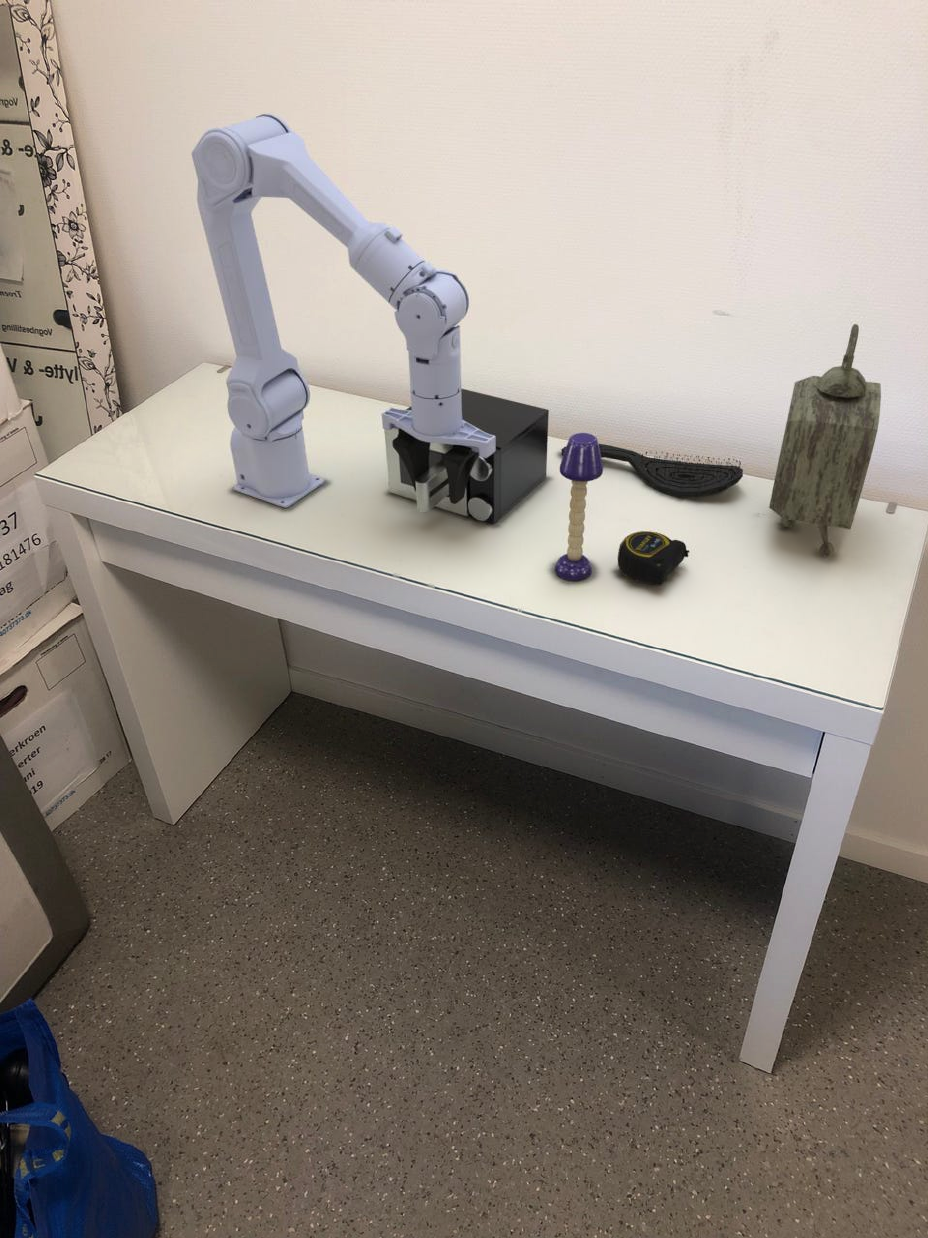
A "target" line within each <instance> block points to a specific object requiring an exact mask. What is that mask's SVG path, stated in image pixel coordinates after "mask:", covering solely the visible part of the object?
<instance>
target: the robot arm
mask: <svg viewBox="0 0 928 1238" xmlns="http://www.w3.org/2000/svg"><path fill="white" fill-rule="evenodd" d="M191 158H192V162H193V167H194V169H195V174H196V178H197V192H196V193H197V194H196V201H197V208H198V211H199V216H200V220H201V223H202V227H203V231H204V234H205V235H204V236H205V238H206V241H207V242H206V243H207V246H208V251H209V254H210V258H211V262H212V266H213V270H214V273H215V277H216V281H217V286H218V290H219V292H220V296H221V301H222V304H223V308H224V313H225V316H226V321H227V324H228V327H229V332H230V336H231V340H232V342H233V347H234V352H235V355H236V358H235V360H234V363H233V365H232V367H231V369H230V371H229V373H228V376H227V378H226V380H225V381H226V382H225V383H226V388H227V391H228V399H227V403H226V404H227V406H226V407H227V413H228V416H229V419H230V421H231V422H232V424H233V426H234V428H233V430H232V432H231V435H230V443H229V447H230V452H231V456H232V461H233V466H234V471H235V472H234V473H235V476H236V482H237V484H235V485H233V490H234V491H236V492H239V493H241V494H244V495H247V496H249V497H253V498H255V499H259V500H261V501H263V502H267V503H270V504H273V505H276V506H278V507H281V508H289V507H290V506H292V505H294V504H295V503H296V502H298V501H300V500H301V499H303V498H304V497H305V496H307V495H309V494H310V493H311V492H313V491H314V490H316V489H317V488H318V487H320V486H322V485H323V484H325V479H324V478H322V477H318V476H316V475H313V474H310V470H309V462H308V456H307V449H306V442H305V435H304V427H303V420H304V419H305V416H304V415H305V413H304V410H305V409H306V408H307V407H308V406H309V403H310V400H311V391H310V386H309V384H308V381H307V380H306V378H305V377H304V375H303V373H302V371H301V370H300V366H299V363H298V359H297V357H296V356H295V355H294V354H292V353H290V352H288V351H286V350H284V349H283V348H282V345H281V340H280V336H279V332H278V327H277V322H276V318H275V314H274V308H273V305H272V300H271V295H270V290H269V286H268V283H267V278H266V277H267V276H266V274H265V269H264V265H263V264H264V263H263V260H262V255H261V251H260V248H259V242H258V239H257V234H256V230H255V225H254V221H253V217H252V212H253V211H254V209H255V208H256V206H257V205H258V203H259V202H260V200H261V199H262V198H281V199H289V200H290V201H292V202H293V203H294V204H295V205H296V206H297V207H298V208H300V209H301V210H302V211H303V212H305V213H306V214H307V215H308V216H309V217H311V219H313V220H314V221H315V222H316V223H318V224H319V225H320V226H321V227H322V228H324V230H326V231H327V232H328V233H330V235H332V236H333V237H334V238H335V239H336V240H338V241H339V242H340V243H341V244H343V246H345V247H346V248H347V255H348V263H349V266H350V267H351V268H352V269H353V270H354V272H356V273H357V274H358V275H359V276H360V277H361V279H363V280H364V281H365V282H366V283H367V284H368V285H369V286H370V287H371V288H372V289H373V290H375V291H376V293H378V295H379V296H380V297H382V299H384V300H385V302H387V303H388V304H389V305H390V306H391V307H392V308H393V309H394V310H395V311H394V318H395V322H396V325H397V327H398V329H399V331H401V333H402V334H403V337H404V338H405V343H406V344H405V345H406V351H408V352H407V353H408V368H409V369H408V371H409V387H410V388H409V390H410V391H409V392H410V405H411V406H410V407H411V409H412V411H411V410H406V409H400V408H395V407H390V408H389V409H387V410H385V411H383V412H382V413H381V423H382V424H381V425H382V429H383V430H384V429H387V430H391V429H392V428H394V429H398V433H399V434H398V437H397V438H395V439H394V440H393V441H392V443H393V448H394V449H395V450H396V451H397V453H398V454H399V456H400V457H401V459H402V460H403V462H404V464H405V466H406V468H407V470H408V473H409V475H410V478H411V481H412V484H413V487H414V490H415V491H416V479H417V478H418V477H419V476H421V475H422V474H423V473H425V472H426V471H427V470H429V451H430V443H442V444H450V445H453V449H450V450H449V451H448V452H446V453H445V454H444V455H442V460H443V463H444V465H445V468H446V471H447V476H448V482H449V498H450V502H451V503H453V504H456V503H458V502H459V501H460V500H461V499H463V498H464V495H465V490H466V486H467V482H468V479H469V476H470V473H471V470H472V468H473V466H474V464H475V462H476V460H477V458H478V456H481V457H484V458H487V457H489V456H490V455H491V454H493V453H494V452H495V442H496V436H494V435H490V434H488V433H485V432H483V431H481V430H480V429H478V428H476V427H474V426H473V425H471V424H469V423H467V422H466V421H464V420H462V401H461V388H462V353H461V351H462V350H461V348H462V347H461V325H459V324H460V322H461V321H462V320H463V319H464V318H465V317H466V316H467V313H468V311H469V308H470V307H469V306H470V298H469V293H468V290H467V289H466V286H465V285H464V283H463V282H462V281H461V280H460V279H459V276H458V275H457V274H456V273H454V272H453V271H450V270H447V269H438V268H436V267H435V266H434V265H433V264H432V263H431V262H427V261H426V260H425V259H424V258H423V257H421V256H420V254H419V253H417V252H416V250H414V249H413V247H411V246H410V245H409V244H408V243H407V242H406V241H405V240H404V239H403V238H402V237H403V235H404V234H403V232H402V231H401V230H400V229H399V228H398V227H396V225H393V226H389V224H388V223H387V222H372V221H368V219H367V218H366V217H365V216H364V215H363V214H362V213H361V212H360V210H359V209H358V208H357V207H356V206H355V205H354V204H353V203H352V202H351V201H350V200H349V198H348V197H347V196H346V195H345V194H344V193H343V192H342V191H341V189H339V187H338V186H337V185H336V184H335V183H334V182H333V180H331V179H330V178H329V177H328V175H327V174H326V173H325V172H324V171H323V170H322V169H321V168H320V166H319V165H318V164H317V163H316V162H315V161H314V160H313V158H311V156H310V155H309V153H308V150H307V147H306V144H305V141H304V139H303V137H301V136H300V135H299V134H298V133H297V132H295V131H294V130H293V131H292V128H291V127H290V126H289V125H288V123H287V122H286V121H285V120H284V119H282V118H281V117H280V116H278V115H276V114H273V113H262V114H260V115H257V116H256V117H254V118H251V119H247V120H244V121H240V122H237V123H233V124H230V125H226V126H222V127H218V126H216V127H213V128H210V129H208V130H207V131H206V132H204V133H203V134H202V136H201V137H200V139H199V141H198V142H197V143H196V145H195V146H194V148H193V150H192V151H191Z"/></svg>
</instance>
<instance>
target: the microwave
mask: <svg viewBox="0 0 928 1238" xmlns="http://www.w3.org/2000/svg"><path fill="white" fill-rule="evenodd" d="M461 401H462V420H464V421H466V422H467V423H469V424H471V425H473V426H474V427H476V428H478V429H480V430H481V431H483V432H485V433H488V434H490V435H494V436H496V442H495V452H494V453H493V454H491V455H490V456H489V457H487V458H484V457H481V456H478V458H477V460H476V462H475V464H474V466H473V468H472V470H471V473H470V500H469V502H468V509H469V512H470V514H469V515H470V517H471V518H474V519H475V520H477V521H484V522H487V523H491V524H493V525H494V524H496V523H497V522H498V521H499V520H501V519H503V518H504V517H505V516H506V515H507V514H508V513H509V512H511V510H513V508H515V507H516V506H517V505H518V504H519V503H520V502H522V501H523V500H524V499H525V498H526V497H527V496H528V495H530V494H531V493H532V492H533V491H534V490H535V489H536V488H538V487H539V486H540V485H541V484H542V483H543V482H545V480H546V479H547V471H548V470H547V467H548V443H549V442H548V440H549V439H548V437H549V414H550V410H549V409H546V408H544V407H543V408H542V407H538V406H535V405H530V404H527V403H523V402H520V401H519V402H518V401H514V400H510V399H507V398H503V397H499V396H494V395H490V394H486V393H482V392H477V391H474V390H470V389H465V388H462V387H461ZM405 410H411V411H412V409H411V406H408V408H405Z"/></svg>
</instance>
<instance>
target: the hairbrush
mask: <svg viewBox="0 0 928 1238" xmlns="http://www.w3.org/2000/svg"><path fill="white" fill-rule="evenodd" d="M598 444H599V449H600V454H601V459H602V458H603V459H605V458H606V459H611V460H615V461H621V462H627V463H629V465H630V466H631V467H632V468H633V469H634V470H635V471H636V472H637V473H638V475H640V477H641V478H642V479H643V480H644V481H645V482H646V483H647V485H648V486H651V487H653V488H654V489H656V490H657V491H659V492H661V493H662V494H667V495H670V496H674V497H678V498H703V497H705V496H709V495H713V494H717V493H718V494H719V493H721V492H724V491H726V490H727V489H729V488H731V487H733V486H735V485H737V484H738V483H739V482H740V481H741V479H743V477H744V469H743V468H742V467H741V465H742V462H741V460H739V461H738V460H737V459H736V460H735V458H733V462H734V461H735V462H736V463H738V462H739V463H738V464H739V465H738V466H737V464H736V463H735V464H732V463H731V462H730V459H731V458H730V457H729V458H727V461H725V458H724V459H723V461H725V464H724V465H723V462H720V461H719V460H720V457H718V461H715V464H714V462H713V461H714V460H715V457H713V458H712V460H710V456H707V460H706V459H705V460H704V462H701V459H703V458H704V456H703V455H702V456H701V459H699V458H700V455H696V456H695V457H696V459H698V461H696V459H695V458H693V461H696V462H693V461H689V460H690V459H691V458H692V455H690V458H687V461H685V459H686V458H684V457H686V454H684V457H682V458H681V460H682V461H681V460H679V457H680V456H681V455H680V454H676V459H675V460H674V459H672V457H674V456H675V453H673V454H672V456H670V459H668V456H669V452H666V455H665V456H664V458H661V455H659V456H658V457H657V456H654V457H650V456H647V454H648V451H645V455H644V454H643V453H642V454H641V453H639V452H637V451H634V450H631V449H626V448H622V447H618V446H614V445H609V444H605V443H599V442H598ZM566 446H567V445H566ZM566 446H563V448H561V456H563V455H564V452H565V449H566ZM663 453H664V452H663V451H661V454H663ZM650 454H652V451H650ZM655 454H658V452H657V451H656V452H655ZM683 460H684V461H683ZM707 462H708V463H707Z"/></svg>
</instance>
